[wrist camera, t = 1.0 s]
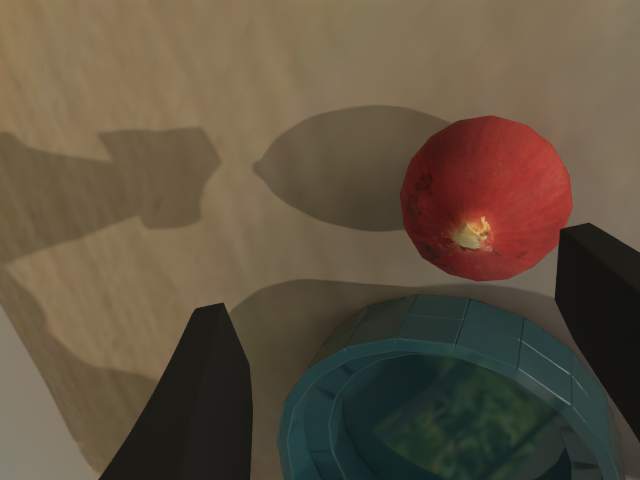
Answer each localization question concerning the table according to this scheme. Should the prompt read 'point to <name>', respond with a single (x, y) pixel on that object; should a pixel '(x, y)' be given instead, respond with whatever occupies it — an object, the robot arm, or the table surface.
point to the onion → (485, 198)
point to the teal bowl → (446, 401)
